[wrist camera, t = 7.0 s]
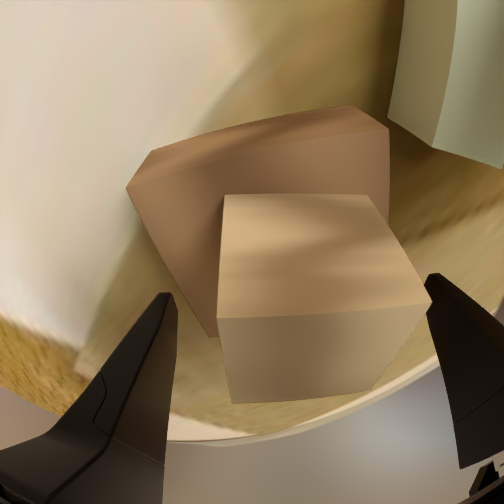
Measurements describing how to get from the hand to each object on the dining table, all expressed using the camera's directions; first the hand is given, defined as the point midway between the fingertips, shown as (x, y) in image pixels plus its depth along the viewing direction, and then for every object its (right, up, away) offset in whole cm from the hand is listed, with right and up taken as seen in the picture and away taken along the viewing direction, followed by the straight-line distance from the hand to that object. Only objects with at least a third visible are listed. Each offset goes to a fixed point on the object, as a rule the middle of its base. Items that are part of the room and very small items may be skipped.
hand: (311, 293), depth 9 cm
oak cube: (0, +1, +2) cm, 2 cm away
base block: (-1, +4, +5) cm, 6 cm away
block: (+7, +11, -1) cm, 13 cm away
